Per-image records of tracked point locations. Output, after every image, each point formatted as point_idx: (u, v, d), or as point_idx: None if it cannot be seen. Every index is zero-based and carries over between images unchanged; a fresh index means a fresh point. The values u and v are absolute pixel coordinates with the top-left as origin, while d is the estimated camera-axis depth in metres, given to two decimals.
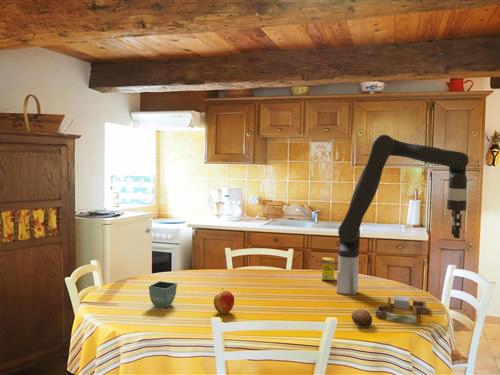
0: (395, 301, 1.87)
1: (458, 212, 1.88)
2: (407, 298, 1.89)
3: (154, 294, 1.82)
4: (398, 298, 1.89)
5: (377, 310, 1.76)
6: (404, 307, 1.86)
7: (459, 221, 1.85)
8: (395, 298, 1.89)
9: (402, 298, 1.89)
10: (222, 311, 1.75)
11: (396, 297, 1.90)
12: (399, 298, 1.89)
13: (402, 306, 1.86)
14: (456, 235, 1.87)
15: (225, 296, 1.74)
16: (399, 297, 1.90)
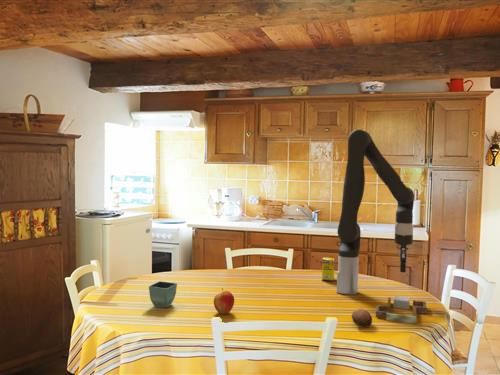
0: (395, 301, 1.87)
1: (404, 246, 1.92)
2: (407, 298, 1.89)
3: (154, 294, 1.82)
4: (398, 298, 1.89)
5: (377, 310, 1.76)
6: (403, 307, 1.86)
7: (404, 259, 1.91)
8: (395, 298, 1.89)
9: (402, 298, 1.89)
10: (222, 311, 1.75)
11: (396, 297, 1.90)
12: (399, 298, 1.90)
13: (402, 306, 1.86)
14: (402, 269, 1.95)
15: (225, 296, 1.74)
16: (399, 297, 1.90)
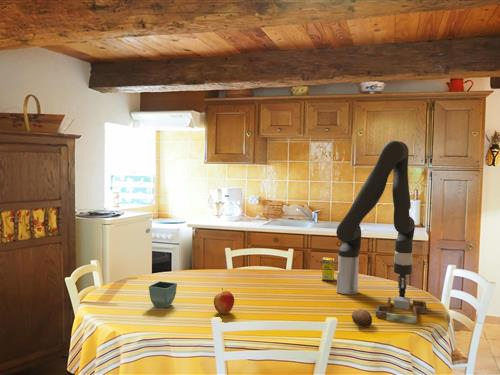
0: (395, 301, 1.87)
1: (403, 276, 1.89)
2: (408, 299, 1.88)
3: (154, 294, 1.82)
4: (398, 298, 1.88)
5: (377, 310, 1.76)
6: (404, 307, 1.85)
7: (403, 289, 1.89)
8: (395, 298, 1.88)
9: (402, 298, 1.88)
10: (222, 311, 1.75)
11: (397, 297, 1.90)
12: (399, 298, 1.89)
13: (402, 306, 1.86)
14: None
15: (225, 296, 1.74)
16: (400, 297, 1.90)
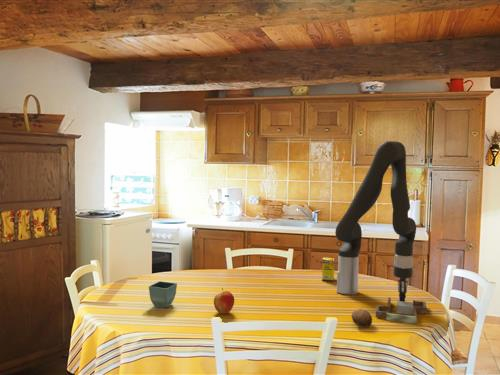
0: (399, 307, 1.80)
1: (404, 280, 1.83)
2: (410, 303, 1.83)
3: (154, 294, 1.82)
4: (401, 303, 1.82)
5: (377, 310, 1.76)
6: (408, 313, 1.79)
7: (403, 293, 1.83)
8: (398, 303, 1.82)
9: (405, 303, 1.82)
10: (222, 311, 1.75)
11: (399, 302, 1.84)
12: (402, 303, 1.83)
13: (406, 312, 1.79)
14: None
15: (225, 296, 1.74)
16: (402, 302, 1.84)
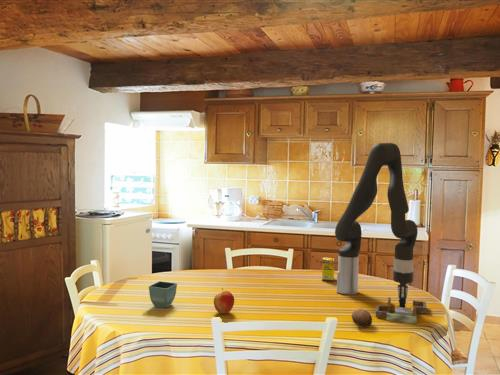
0: (396, 313, 1.73)
1: (404, 285, 1.75)
2: (409, 309, 1.75)
3: (154, 294, 1.82)
4: (399, 309, 1.75)
5: (377, 310, 1.76)
6: None
7: (404, 299, 1.75)
8: (396, 309, 1.75)
9: (403, 309, 1.75)
10: (222, 311, 1.75)
11: (397, 308, 1.76)
12: (400, 309, 1.75)
13: None
14: None
15: (225, 296, 1.74)
16: (400, 308, 1.76)
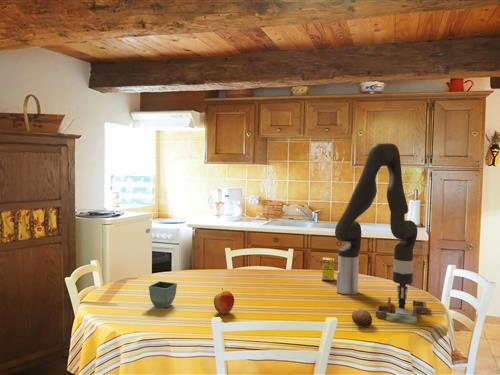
0: None
1: (403, 286, 1.74)
2: (409, 311, 1.74)
3: (154, 294, 1.82)
4: (400, 311, 1.74)
5: (377, 310, 1.76)
6: None
7: (403, 300, 1.74)
8: (396, 311, 1.74)
9: (404, 311, 1.74)
10: (222, 311, 1.75)
11: (397, 309, 1.75)
12: (400, 310, 1.74)
13: None
14: None
15: (225, 296, 1.74)
16: (401, 309, 1.75)
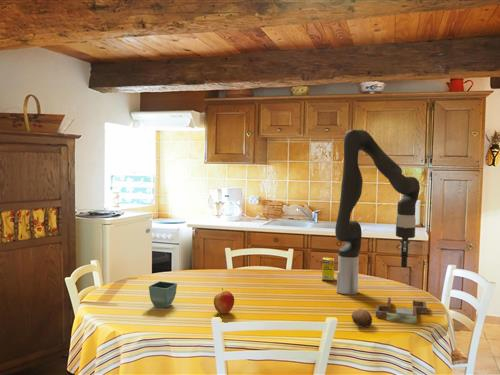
0: None
1: (406, 240, 1.80)
2: (410, 310, 1.74)
3: (154, 294, 1.82)
4: (400, 310, 1.73)
5: (377, 310, 1.76)
6: None
7: (405, 253, 1.79)
8: (397, 310, 1.73)
9: (405, 310, 1.74)
10: (222, 311, 1.75)
11: (398, 309, 1.75)
12: (401, 310, 1.74)
13: None
14: (403, 264, 1.83)
15: (225, 296, 1.74)
16: (401, 309, 1.75)
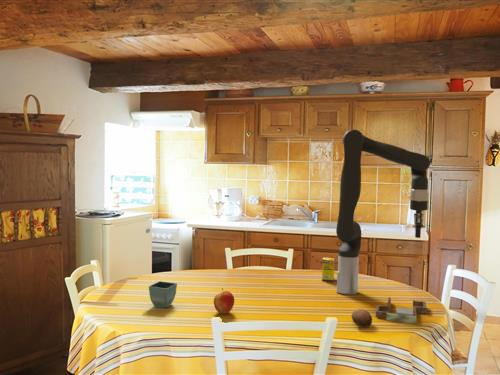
0: None
1: (419, 212, 1.97)
2: (410, 310, 1.74)
3: (154, 294, 1.82)
4: (400, 310, 1.73)
5: (377, 310, 1.76)
6: None
7: (419, 224, 1.97)
8: (397, 310, 1.73)
9: (405, 310, 1.74)
10: (222, 311, 1.75)
11: (398, 309, 1.75)
12: (401, 310, 1.74)
13: None
14: (417, 235, 2.00)
15: (225, 296, 1.74)
16: (401, 309, 1.75)
